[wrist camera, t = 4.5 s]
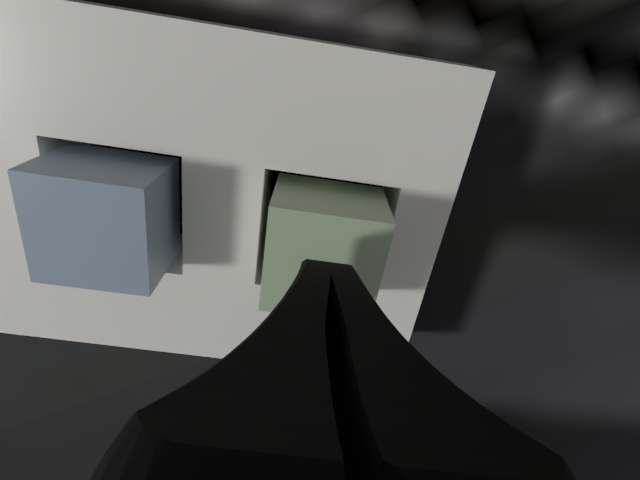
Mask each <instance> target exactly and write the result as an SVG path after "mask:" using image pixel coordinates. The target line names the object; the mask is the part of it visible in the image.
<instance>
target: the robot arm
mask: <svg viewBox="0 0 640 480" xmlns="http://www.w3.org/2000/svg"><path fill="white" fill-rule="evenodd" d="M90 480H576V479H575V477H574V476H573V474H572V472H571V470H570V469H569V467H568V465H567V464H566V462H565V461H564V459H563V457H561V456H560V455H558V454H556V453H555V452H553V451H552V450H550V449H548V448H547V447H545V446H543V445H542V444H540V443H538V442H537V441H535V440H534V439H532V438H530V437H529V436H527V435H525V434H524V433H522V432H521V431H519V430H517V429H516V428H514V427H512V426H511V425H509V424H508V423H506V422H505V421H503V420H502V419H500V418H499V417H498V416H496V415H495V414H493V413H492V412H490V411H489V410H488V409H486V408H485V407H483V406H482V405H481V404H479V403H478V402H476V401H475V400H474V399H472V398H471V397H470V396H469V395H467V394H466V393H465V392H463V391H462V390H461V389H459V388H458V387H457V386H456V385H455V384H453V383H452V382H451V381H450V380H449V379H447V378H446V377H445V376H444V375H443V374H441V373H440V372H439V371H438V370H437V369H436V368H435V367H434V366H432V365H431V364H430V363H429V362H428V361H427V360H426V359H425V358H424V357H423V356H422V355H421V354H420V353H419V352H418V351H417V350H416V349H415V348H414V347H413V346H412V345H411V344H410V343H409V342H408V341H407V340H406V339H405V338H404V337H403V336H402V334H401V333H400V332H399V331H398V330H397V329H396V327H395V326H394V325H393V324H392V323H391V321H390V320H389V319H388V318H387V316H386V315H385V314H384V312H383V311H382V310H381V308H380V307H379V305H378V304H377V303H376V301H375V300H374V299H373V297H372V296H371V294H370V293H369V291H368V290H367V288H366V287H365V285H364V283H363V282H362V280H361V279H360V277H359V276H358V274H357V272H356V271H355V269H354V268H353V266H352V265H349V264H341V263H333V262H326V261H318V260H311V259H306V260H304V261H302V263H301V267H300V270H299V272H298V274H297V276H296V278H295V279H294V281H293V283H292V285H291V286H290V287H289V289H288V290H287V292H286V293H285V295H284V296H283V298H282V299H281V300H280V302H279V303H278V304H277V305H276V307H275V308H274V309H273V310H272V312H271V313H270V314H269V315H268V316H267V318H266V319H265V320H264V321H263V322H262V323H261V324H260V325H259V326H258V327H257V328H256V329H255V330H254V331H253V332H252V333H251V334H250V335H249V336H248V337H247V338H246V339H245V340H244V341H243V342H241V343H240V344H239V345H238V346H237V347H236V348H234V349H233V350H232V351H231V352H230V353H229V354H227V355H226V356H225V357H224V358H222V359H221V360H220V361H218V362H217V363H216V364H214V365H213V366H211V367H210V368H209V369H207V370H206V371H204V372H203V373H201V374H200V375H198V376H197V377H195V378H194V379H193V380H191V381H190V382H188V383H187V384H185V385H183V386H182V387H180V388H179V389H177V390H175V391H173V392H172V393H170V394H168V395H166V396H164V397H163V398H161V399H159V400H157V401H155V402H154V403H152V404H150V405H148V406H146V407H144V408H142V409H140V410H138V411H136V412H135V413H133V415H132V416H131V417H130V419H129V420H128V421H127V422H126V424H125V425H124V427H123V428H122V429H121V431H120V432H119V433H118V435H117V436H116V438H115V439H114V441H113V442H112V444H111V445H110V447H109V448H108V449H107V451H106V452H105V454H104V455H103V457H102V458H101V460H100V462H99V463H98V465H97V466H96V468H95V470H94V472H93V474H92V476H91V478H90Z"/></svg>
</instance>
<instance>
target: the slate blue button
mask: <svg viewBox="0 0 640 480" xmlns="http://www.w3.org/2000/svg"><path fill="white" fill-rule="evenodd" d="M7 172H8V177H9V182H10V186H11V191H12V196H13V200H14V205H15V210H16V214H17V219H18V224H19V228H20V233H21V238H22V242H23V247H24V252H25V256H26V261H27V266H28V271H29V275H30V280H31V282H34V283H42V284H50V285H58V286H66V287H74V288H82V289H90V290H98V291H106V292H114V293H122V294H130V295H138V296H146V297H150V296H151V294H152V293H153V291H154V290H155V288H156V287H157V285H158V284H159V282H160V281H161V279H162V278H163V276H164V274H165V273H166V271H167V270H168V268H169V267H170V265H171V264H172V262H173V261H174V259H175V258H176V256H177V255H178V253H179V252H180V198H179V158H175V157H168V156H161V155H154V154H147V153H140V152H133V151H127V150H120V149H113V148H106V147H99V146H92V145H85V144H78V143H71V142H69V143H67V144H65V145H62V146H60V147H58V148H56V149H53V150H51V151H49V152H46V153H44V154H42V155H40V156H37V157H35V158H33V159H31V160H28V161H26V162H24V163H22V164H19V165H17V166H15V167H13V168H10V169H8V170H7Z"/></svg>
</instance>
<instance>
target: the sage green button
mask: <svg viewBox="0 0 640 480" xmlns="http://www.w3.org/2000/svg"><path fill="white" fill-rule="evenodd" d="M395 226H396V223H395V221H394V218H393V215H392V212H391V210H390V207H389V204H388V201H387V199H386V196H385V193H384V190H383V188H381V187H375V186H368V185H361V184H354V183H347V182H340V181H333V180H326V179H319V178H313V177H306V176H299V175H292V174H285V173H279V175H278V178H277V182H276V185H275V188H274V191H273V194H272V197H271V201H270V204H269V207H268V218H267V228H266V238H265V249H264V259H263V269H262V280H261V290H260V300H259V311H266V312H272V310H273V309H274V308H275V307H276V305H277V304H278V303H279V302H280V300H281V299H282V298H283V296H284V295H285V293H286V292H287V290H288V289H289V287H290V286H291V285H292V283H293V281H294V279H295V278H296V276H297V274H298V272H299V270H300V267H301V263H302V261H304V260H306V259H311V260H318V261H326V262H333V263H341V264H349V265H352V266H353V268H354V269H355V271H356V272H357V274H358V276H359V277H360V279H361V280H362V282H363V283H364V285H365V287H366V288H367V290H368V291H369V293H370V294H371V296H372V297H373V299H374V300H375V301H376V299H377V296H378V292H379V288H380V284H381V280H382V276H383V272H384V268H385V265H386V261H387V257H388V253H389V249H390V245H391V241H392V238H393V234H394V230H395Z"/></svg>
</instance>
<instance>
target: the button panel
mask: <svg viewBox="0 0 640 480" xmlns="http://www.w3.org/2000/svg"><path fill="white" fill-rule="evenodd" d="M495 72H496V71H493V70H488V69H484V68H480V67H476V66H472V65H468V64H464V63H458V62H452V61H446V60H440V59H434V58H428V57H422V56H416V55H410V54H404V53H398V52H392V51H386V50H380V49H373V48H367V47H361V46H355V45H349V44H343V43H337V42H331V41H325V40H319V39H313V38H307V37H301V36H295V35H289V34H283V33H277V32H271V31H264V30H258V29H252V28H246V27H240V26H234V25H228V24H222V23H216V22H210V21H204V20H198V19H192V18H186V17H180V16H174V15H168V14H162V13H155V12H149V11H143V10H137V9H131V8H125V7H119V6H113V5H107V4H101V3H95V2H89V1H83V0H0V332H1V333H9V334H18V335H26V336H35V337H43V338H52V339H60V340H69V341H77V342H86V343H94V344H103V345H111V346H120V347H128V348H137V349H145V350H154V351H162V352H171V353H179V354H188V355H196V356H205V357H213V358H224V357H225V356H226V355H227V354H229V353H230V352H231V351H232V350H233V349H234V348H236V347H237V346H238V345H239V344H240V343H241V342H243V341H244V340H245V339H246V338H247V337H248V336H249V335H250V334H251V333H252V332H253V331H254V330H255V329H256V328H257V327H258V326H259V325H260V324H261V323H262V322H263V321H264V320H265V319H266V318H267V316H268V315H269V314H270V313H271V312H266V311H259V300H260V290H261V280H262V269H263V259H264V249H265V238H266V228H267V218H268V207H269V203H270V192H271V182H272V172H273V170H277V171H284V172H291V173H298V174H305V175H312V176H319V177H326V178H332V179H339V180H346V181H353V182H360V183H367V184H374V185H381V186H383V187H382V188H383V190H384V193H385V196H386V199H387V201H388V204H389V207H390V210H391V212H392V215H393V218H394V221H395V223H396V226H395V230H394V234H393V238H392V241H391V245H390V249H389V253H388V257H387V261H386V265H385V268H384V272H383V276H382V280H381V284H380V288H379V292H378V296H377V299H376V303H377V304H378V305H379V307H380V308H381V310H382V311H383V312H384V314H385V315H386V316H387V318H388V319H389V320H390V321H391V323H392V324H393V325H394V326H395V327H396V329H397V330H398V331H399V332H400V333H401V334H402V336H403V337H404V338H405V339H406V340H407V341H408V342H409V340H410V336H411V333H412V330H413V327H414V324H415V321H416V318H417V315H418V312H419V309H420V305H421V302H422V299H423V296H424V293H425V290H426V287H427V284H428V281H429V277H430V274H431V271H432V268H433V265H434V262H435V259H436V256H437V253H438V250H439V246H440V243H441V240H442V237H443V234H444V231H445V228H446V225H447V222H448V218H449V215H450V212H451V209H452V206H453V203H454V200H455V197H456V194H457V190H458V187H459V184H460V181H461V178H462V175H463V172H464V169H465V166H466V163H467V159H468V156H469V153H470V150H471V147H472V144H473V141H474V138H475V135H476V131H477V128H478V125H479V122H480V119H481V116H482V113H483V110H484V107H485V104H486V100H487V97H488V94H489V91H490V88H491V85H492V82H493V79H494V76H495ZM69 142H71V143H78V144H85V145H90V143H92V144H99V145H105V146H112V147H119V148H126V149H133V150H140V151H147V152H154V153H160V154H167V155H174V156H181V157H182V234H180V252H179V253H178V255H177V256H176V258H175V259H174V261H173V262H172V264H171V265H170V267H169V268H168V270H167V271H166V273H165V274H164V276H163V278H162V279H161V281H160V282H159V284H158V285H157V287H156V288H155V290H154V291H153V293H152V294H151V296H150V297H146V296H138V295H130V294H122V293H114V292H106V291H98V290H90V289H82V288H74V287H66V286H58V285H50V284H42V283H34V282H31V280H30V275H29V271H28V266H27V261H26V256H25V252H24V247H23V242H22V238H21V233H20V228H19V224H18V219H17V214H16V210H15V205H14V200H13V196H12V191H11V186H10V182H9V177H8V172H7V170H8V169H10V168H13V167H15V166H17V165H19V164H22V163H24V162H26V161H28V160H31V159H33V158H35V157H37V156H40V155H42V154H44V153H46V152H49V151H51V150H53V149H56V148H58V147H60V146H62V145H65V144H67V143H69Z"/></svg>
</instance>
